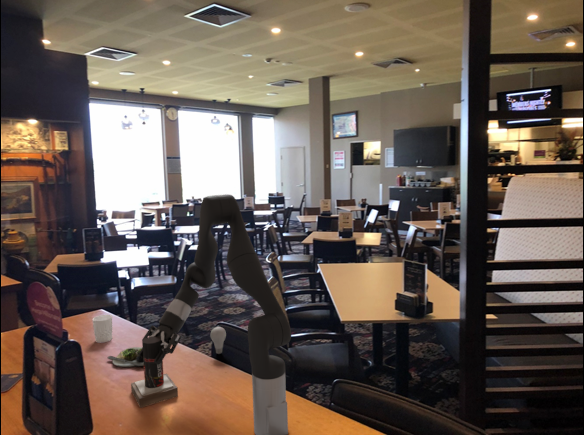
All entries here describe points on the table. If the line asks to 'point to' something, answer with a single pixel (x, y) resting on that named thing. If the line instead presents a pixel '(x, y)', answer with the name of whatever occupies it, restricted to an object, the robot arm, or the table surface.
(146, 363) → the deodorant
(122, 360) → the salad plate
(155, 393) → the pedestal
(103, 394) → the table surface
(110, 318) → the white cup
